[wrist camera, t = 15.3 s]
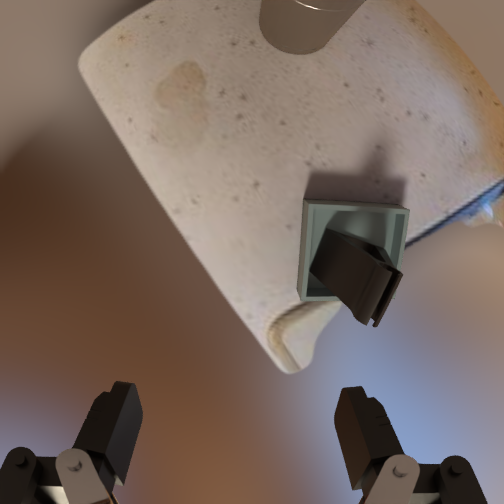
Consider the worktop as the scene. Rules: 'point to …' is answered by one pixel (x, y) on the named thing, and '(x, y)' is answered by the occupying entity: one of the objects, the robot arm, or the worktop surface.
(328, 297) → the slate tray
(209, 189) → the worktop surface
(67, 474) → the robot arm
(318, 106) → the worktop surface
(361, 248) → the phone stand
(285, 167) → the worktop surface
